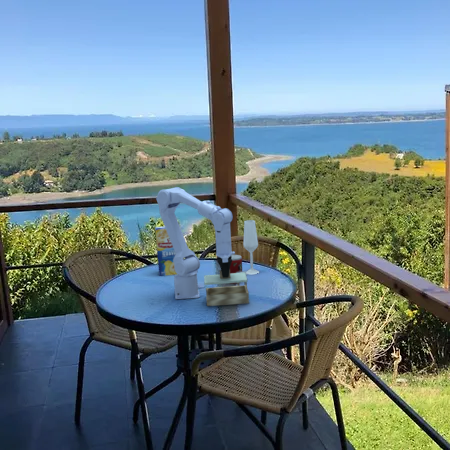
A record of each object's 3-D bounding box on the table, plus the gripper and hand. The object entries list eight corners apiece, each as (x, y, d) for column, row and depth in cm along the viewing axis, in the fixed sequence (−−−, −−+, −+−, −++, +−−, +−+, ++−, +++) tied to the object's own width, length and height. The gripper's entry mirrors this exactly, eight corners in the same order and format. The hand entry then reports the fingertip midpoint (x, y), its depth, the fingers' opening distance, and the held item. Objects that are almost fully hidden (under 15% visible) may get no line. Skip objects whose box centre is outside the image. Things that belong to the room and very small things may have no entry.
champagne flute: (241, 273, 235) (239, 221, 230) (251, 269, 239) (249, 219, 235) (252, 275, 230) (250, 223, 226) (262, 271, 235) (260, 220, 230)
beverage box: (158, 272, 244) (155, 227, 240) (181, 270, 245) (178, 225, 241) (159, 276, 237) (155, 229, 233) (182, 274, 239) (179, 227, 235)
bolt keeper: (238, 293, 205) (237, 274, 204) (237, 290, 210) (236, 271, 208) (247, 292, 205) (246, 274, 204) (246, 289, 210) (245, 271, 208)
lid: (204, 285, 189) (203, 275, 189) (204, 277, 199) (203, 268, 199) (247, 281, 190) (246, 272, 189) (245, 274, 200) (244, 265, 199)
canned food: (236, 284, 217) (235, 259, 215) (221, 282, 222) (220, 257, 220) (246, 280, 223) (245, 255, 221) (231, 277, 228) (230, 253, 226)
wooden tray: (206, 306, 193) (206, 295, 192) (206, 297, 203) (206, 287, 202) (249, 303, 193) (248, 293, 192) (246, 294, 203) (246, 285, 202)
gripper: (235, 244, 185) (237, 280, 187) (232, 236, 199) (234, 270, 202) (215, 246, 185) (218, 282, 187) (214, 237, 199) (216, 271, 201)
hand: (225, 276), depth 194 cm, fingers closed on lid, 2 cm apart
